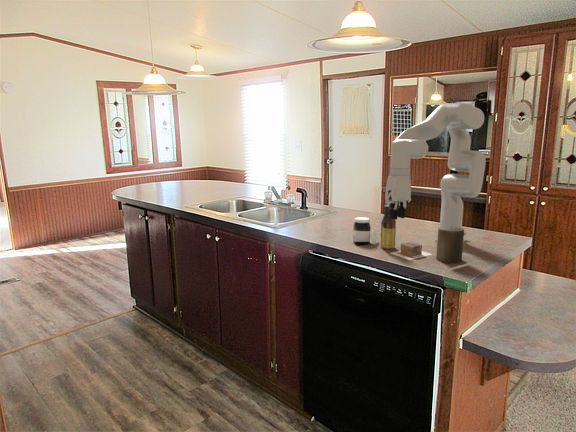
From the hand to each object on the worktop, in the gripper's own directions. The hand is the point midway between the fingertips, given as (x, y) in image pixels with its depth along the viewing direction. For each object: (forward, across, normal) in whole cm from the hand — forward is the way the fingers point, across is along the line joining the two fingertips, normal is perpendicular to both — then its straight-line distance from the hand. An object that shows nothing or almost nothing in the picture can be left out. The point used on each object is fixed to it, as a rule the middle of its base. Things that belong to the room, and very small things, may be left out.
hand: (397, 217), depth 166 cm
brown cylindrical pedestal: (+18, -16, +14) cm, 27 cm away
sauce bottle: (+17, -7, -12) cm, 22 cm away
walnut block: (+16, -9, 0) cm, 19 cm away
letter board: (+17, -9, 0) cm, 19 cm away
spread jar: (+18, -6, -24) cm, 31 cm away
